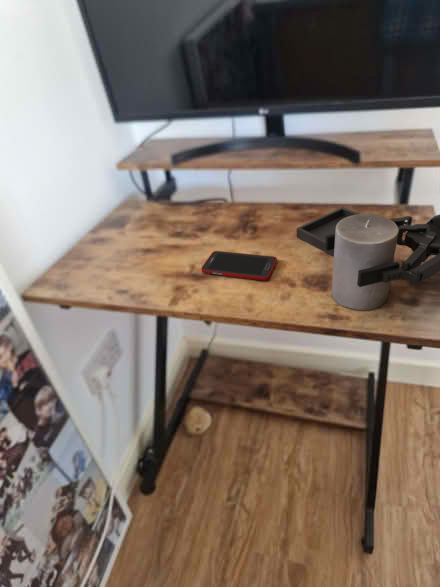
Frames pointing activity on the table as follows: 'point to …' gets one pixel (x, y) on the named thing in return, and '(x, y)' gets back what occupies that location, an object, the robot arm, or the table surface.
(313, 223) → the candle pad
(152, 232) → the table surface
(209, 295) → the table surface
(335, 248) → the pillar candle
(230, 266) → the cell phone
